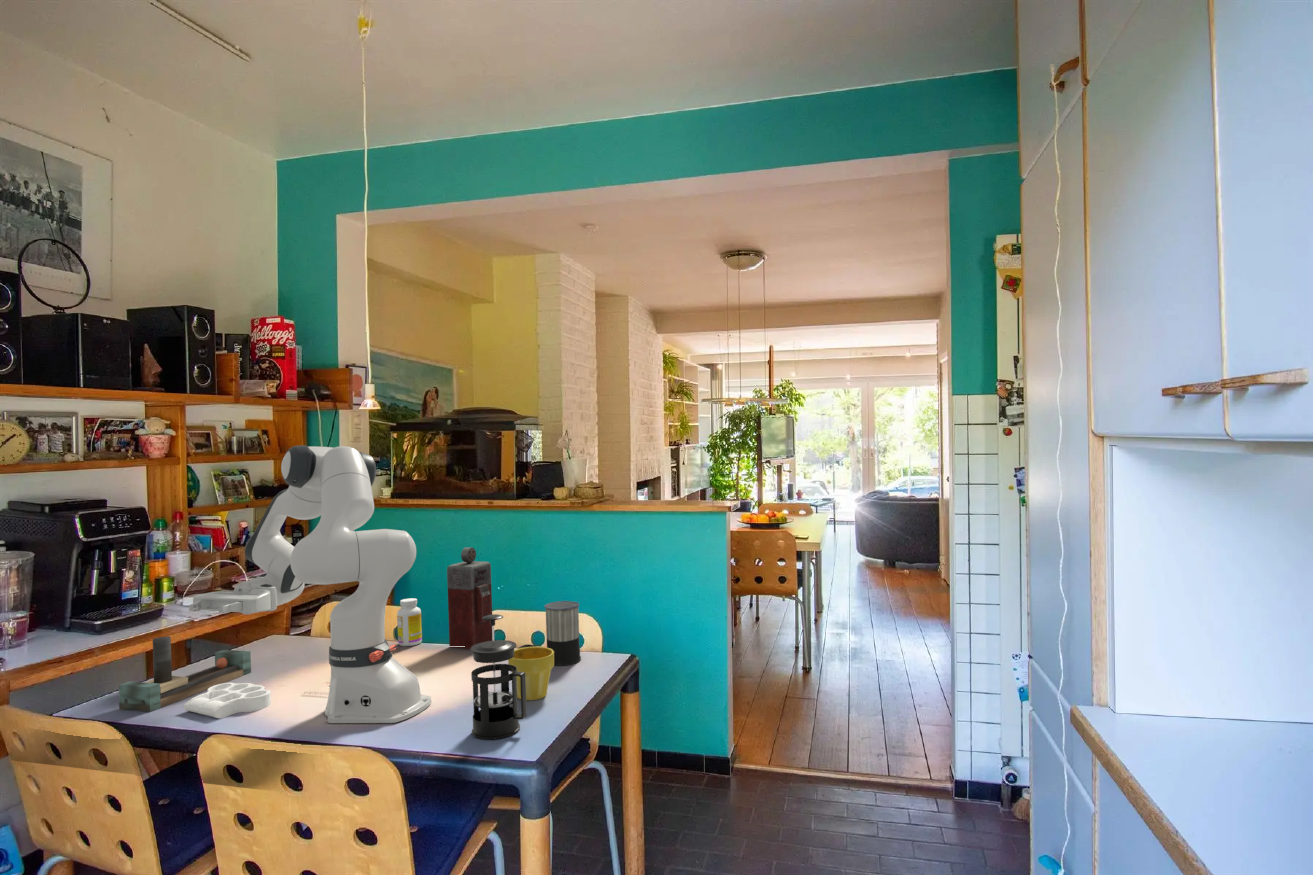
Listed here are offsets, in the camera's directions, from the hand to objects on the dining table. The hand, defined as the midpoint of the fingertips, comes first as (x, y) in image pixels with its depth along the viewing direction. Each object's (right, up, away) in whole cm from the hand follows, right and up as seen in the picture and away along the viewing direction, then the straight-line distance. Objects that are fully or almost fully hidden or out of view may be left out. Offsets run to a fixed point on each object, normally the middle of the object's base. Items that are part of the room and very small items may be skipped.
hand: (206, 609), depth 182 cm
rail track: (-1, -18, -5) cm, 19 cm away
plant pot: (+85, -16, -18) cm, 88 cm away
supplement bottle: (+41, -17, +30) cm, 54 cm away
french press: (+82, -16, -37) cm, 91 cm away
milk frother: (+85, -16, +8) cm, 87 cm away
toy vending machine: (+61, -17, +26) cm, 69 cm away
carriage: (-3, -16, -12) cm, 20 cm away
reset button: (+2, -16, +4) cm, 17 cm away
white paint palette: (+17, -18, -17) cm, 30 cm away
